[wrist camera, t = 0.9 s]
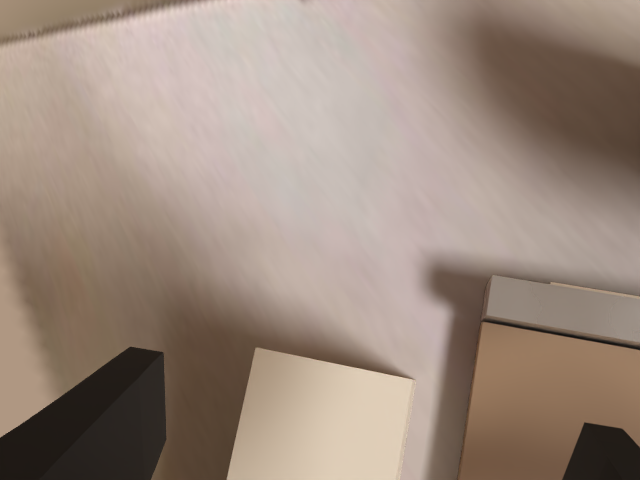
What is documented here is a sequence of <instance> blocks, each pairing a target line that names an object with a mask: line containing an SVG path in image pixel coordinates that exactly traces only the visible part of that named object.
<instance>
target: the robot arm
mask: <svg viewBox="0 0 640 480" xmlns="http://www.w3.org/2000/svg"><path fill="white" fill-rule="evenodd" d="M165 441H166V416H165V385H164V353H163V352H159V351H152V350H146V349H140V348H134V347H129V348H128V349H126V350H125V351H124V352H122V353H121V354H119V355H118V356H116V357H115V358H114V359H112V360H111V361H109V362H108V363H107V364H105V365H104V366H102V367H101V368H100V369H98V370H97V371H96V372H94V373H93V374H91V375H90V376H89V377H87V378H86V379H85V380H83V381H82V382H80V383H79V384H78V385H76V386H75V387H74V388H72V389H71V390H69V391H68V392H67V393H65V394H64V395H62V396H61V397H60V398H58V399H57V400H55V401H54V402H52V403H51V404H50V405H48V406H47V407H45V408H44V409H42V410H41V411H40V412H38V413H37V414H35V415H34V416H32V417H31V418H30V419H28V420H27V421H25V422H24V423H22V424H21V425H20V426H18V427H16V428H15V429H13V430H11V431H10V432H8V433H7V434H5V435H4V436H2V437H1V438H0V480H151V478H152V475H153V473H154V470H155V468H156V465H157V462H158V460H159V457H160V454H161V452H162V449H163V446H164V444H165ZM562 480H640V447H639V446H638V445H637V444H636V443H635V441H634V440H633V439H632V438H631V437H630V436H629V435H628V434H627V433H626V432H625V431H624V430H623V429H622V428H616V427H610V426H604V425H598V424H592V423H586V422H584V425H583V427H582V430H581V432H580V435H579V438H578V440H577V443H576V445H575V448H574V450H573V453H572V456H571V458H570V461H569V463H568V466H567V468H566V471H565V474H564V476H563V479H562Z"/></svg>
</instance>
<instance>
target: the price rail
mask: <svg viewBox="0 0 640 480" xmlns="http://www.w3.org/2000/svg"><path fill="white" fill-rule="evenodd" d="M481 322H487V323H493V324H498V325H504V326H509V327H515V328H520V329H526V330H531V331H537V332H542V333H548V334H553V335H559V336H564V337H570V338H575V339H581V340H587V341H592V342H598V343H603V344H609V345H614V346H620V347H625V348H631V349H636V350H640V296H634V295H628V294H622V293H616V292H610V291H604V290H597V289H591V288H585V287H579V286H573V285H567V284H561V283H554V282H550V283H549V284H545V283H539V282H533V281H527V280H521V279H515V278H509V277H503V276H496V275H492V276H491V278H490V280H489V282H488V283H487V285H486V289H485V296H484V302H483V309H482V316H481Z"/></svg>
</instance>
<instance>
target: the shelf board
mask: <svg viewBox="0 0 640 480" xmlns="http://www.w3.org/2000/svg"><path fill="white" fill-rule="evenodd" d="M584 422H586V423H592V424H598V425H604V426H610V427H616V428H622V429H623V430H624V431H625V432H626V433H627V434H628V435H629V436H630V437H631V438H632V439H633V440H634V441H635V443H636V444H637V445H638V446H639V447H640V350H636V349H631V348H625V347H620V346H614V345H609V344H603V343H598V342H592V341H587V340H581V339H575V338H570V337H564V336H559V335H553V334H548V333H542V332H537V331H531V330H526V329H520V328H515V327H509V326H504V325H498V324H493V323H487V322H482V323H481V324H480V329H479V336H478V343H477V349H476V356H475V363H474V370H473V376H472V383H471V390H470V397H469V403H468V410H467V417H466V424H465V430H464V437H463V444H462V451H461V457H460V464H459V471H458V478H457V480H562V479H563V476H564V474H565V471H566V468H567V466H568V463H569V461H570V458H571V456H572V453H573V450H574V448H575V445H576V443H577V440H578V438H579V435H580V432H581V430H582V427H583V425H584Z"/></svg>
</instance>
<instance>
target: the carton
mask: <svg viewBox="0 0 640 480" xmlns="http://www.w3.org/2000/svg"><path fill="white" fill-rule="evenodd" d="M415 385H416V380H412V379H407V378H403V377H398V376H393V375H388V374H383V373H378V372H373V371H369V370H364V369H359V368H354V367H349V366H344V365H339V364H335V363H330V362H325V361H320V360H315V359H310V358H306V357H301V356H296V355H291V354H286V353H281V352H276V351H272V350H267V349H262V348H257V347H256V348H255V353H254V357H253V362H252V366H251V371H250V375H249V380H248V384H247V389H246V394H245V398H244V403H243V407H242V412H241V416H240V421H239V425H238V430H237V434H236V439H235V444H234V448H233V453H232V457H231V462H230V466H229V471H228V475H227V480H400V475H401V469H402V463H403V457H404V451H405V445H406V439H407V433H408V427H409V421H410V415H411V409H412V403H413V397H414V391H415Z"/></svg>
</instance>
